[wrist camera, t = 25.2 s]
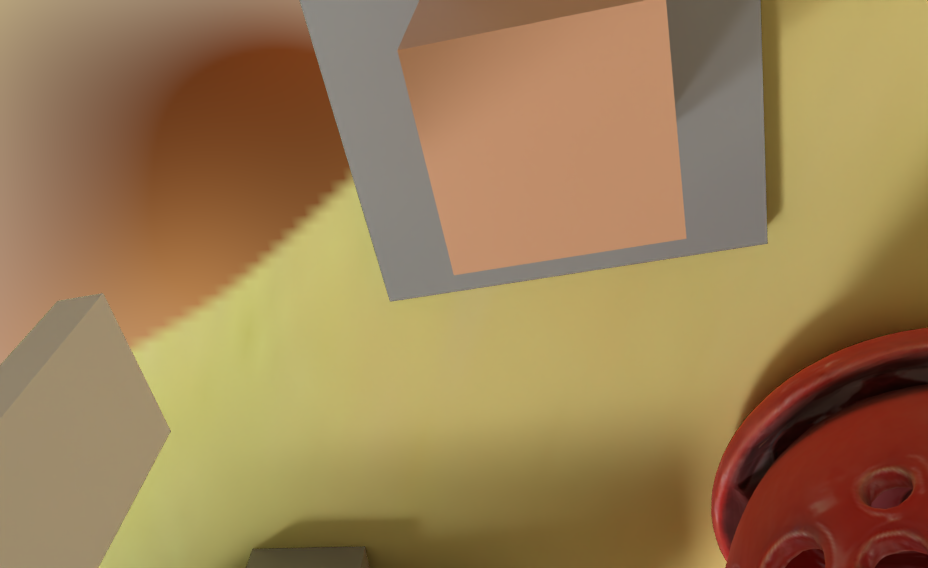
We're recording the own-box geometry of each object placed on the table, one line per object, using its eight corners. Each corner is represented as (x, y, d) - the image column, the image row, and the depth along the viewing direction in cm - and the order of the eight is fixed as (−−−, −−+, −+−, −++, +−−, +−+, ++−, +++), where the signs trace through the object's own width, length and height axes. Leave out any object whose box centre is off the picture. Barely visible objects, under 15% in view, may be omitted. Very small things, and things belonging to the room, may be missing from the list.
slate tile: (392, 290, 23) (390, 301, 23) (279, -93, 18) (272, -89, 18) (761, 232, 22) (767, 243, 21) (747, -201, 17) (754, -201, 16)
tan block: (466, 173, 21) (453, 274, 16) (424, -12, 18) (397, 50, 14) (649, 141, 20) (686, 238, 16) (629, -55, 18) (665, -4, 13)
